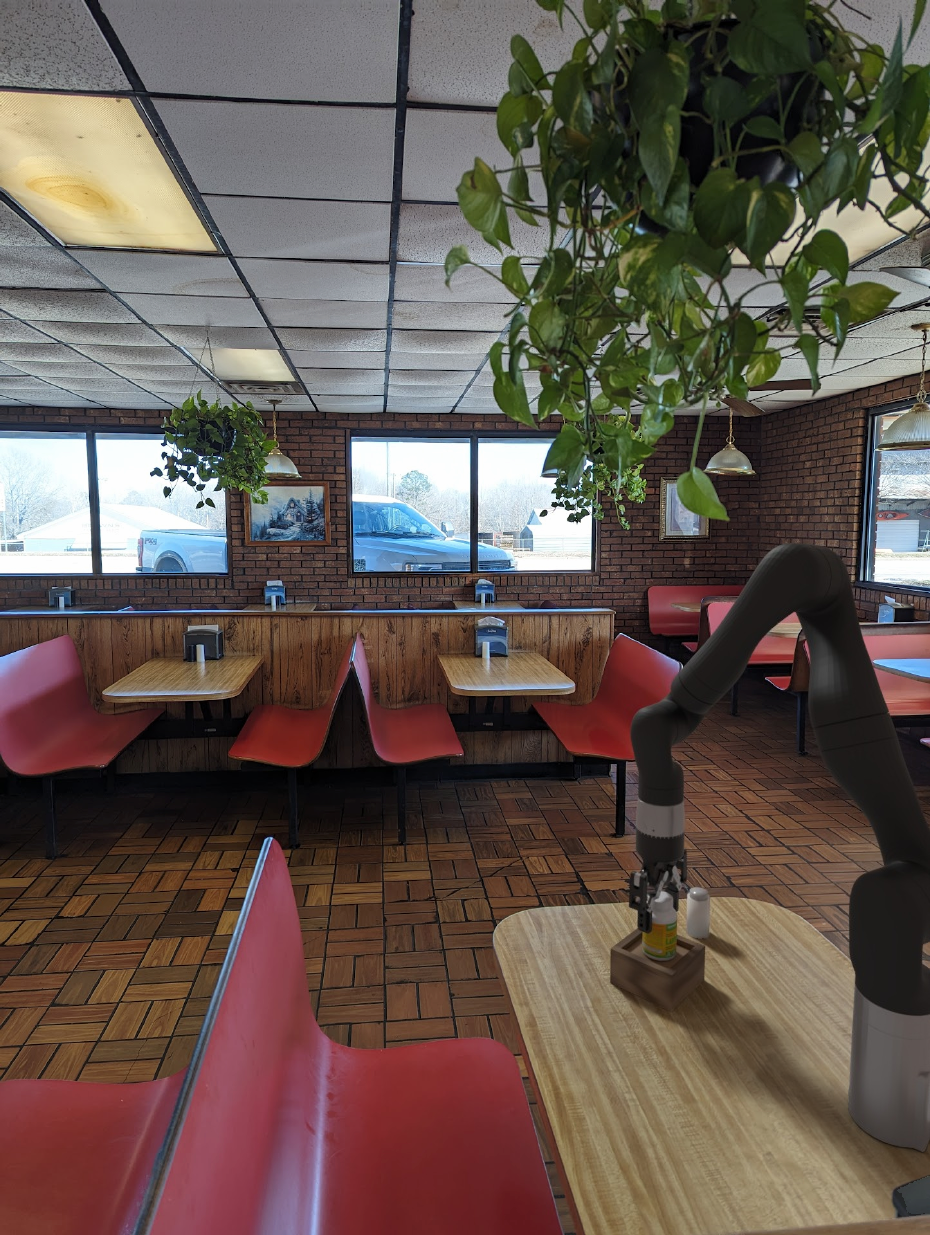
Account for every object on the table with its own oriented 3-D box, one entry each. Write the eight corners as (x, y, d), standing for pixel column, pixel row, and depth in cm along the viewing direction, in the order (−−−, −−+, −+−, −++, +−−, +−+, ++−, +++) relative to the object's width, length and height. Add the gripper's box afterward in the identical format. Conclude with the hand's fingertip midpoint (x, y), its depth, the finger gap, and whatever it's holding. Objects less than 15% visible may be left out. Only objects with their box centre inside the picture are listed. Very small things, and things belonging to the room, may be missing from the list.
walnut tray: (704, 979, 125) (705, 945, 124) (671, 1011, 117) (671, 975, 116) (645, 954, 133) (645, 922, 132) (610, 982, 125) (610, 948, 124)
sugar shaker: (713, 932, 139) (714, 891, 138) (702, 941, 136) (704, 899, 135) (692, 924, 142) (693, 884, 141) (682, 933, 139) (683, 892, 138)
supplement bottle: (668, 966, 121) (670, 908, 119) (636, 955, 124) (638, 898, 122) (680, 950, 125) (682, 894, 124) (649, 939, 128) (651, 885, 127)
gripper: (658, 846, 114) (656, 947, 116) (703, 818, 124) (700, 912, 126) (615, 832, 119) (614, 930, 121) (661, 806, 129) (659, 897, 131)
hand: (658, 920), depth 124 cm, fingers open, 8 cm apart
